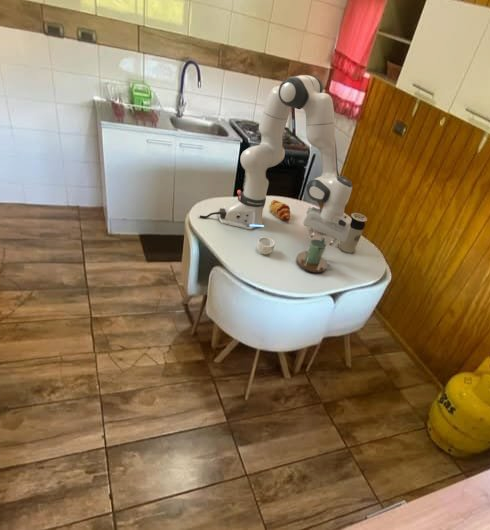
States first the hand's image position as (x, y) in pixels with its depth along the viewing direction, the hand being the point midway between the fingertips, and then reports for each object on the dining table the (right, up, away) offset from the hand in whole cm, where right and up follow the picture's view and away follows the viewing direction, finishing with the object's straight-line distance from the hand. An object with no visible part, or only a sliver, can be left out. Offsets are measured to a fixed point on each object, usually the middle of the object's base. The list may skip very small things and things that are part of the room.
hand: (321, 241), depth 169 cm
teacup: (-26, -4, +2) cm, 26 cm away
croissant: (-14, +17, +35) cm, 41 cm away
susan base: (-5, -11, -1) cm, 12 cm away
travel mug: (+16, -3, +17) cm, 24 cm away
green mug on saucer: (-4, -9, -1) cm, 10 cm away
